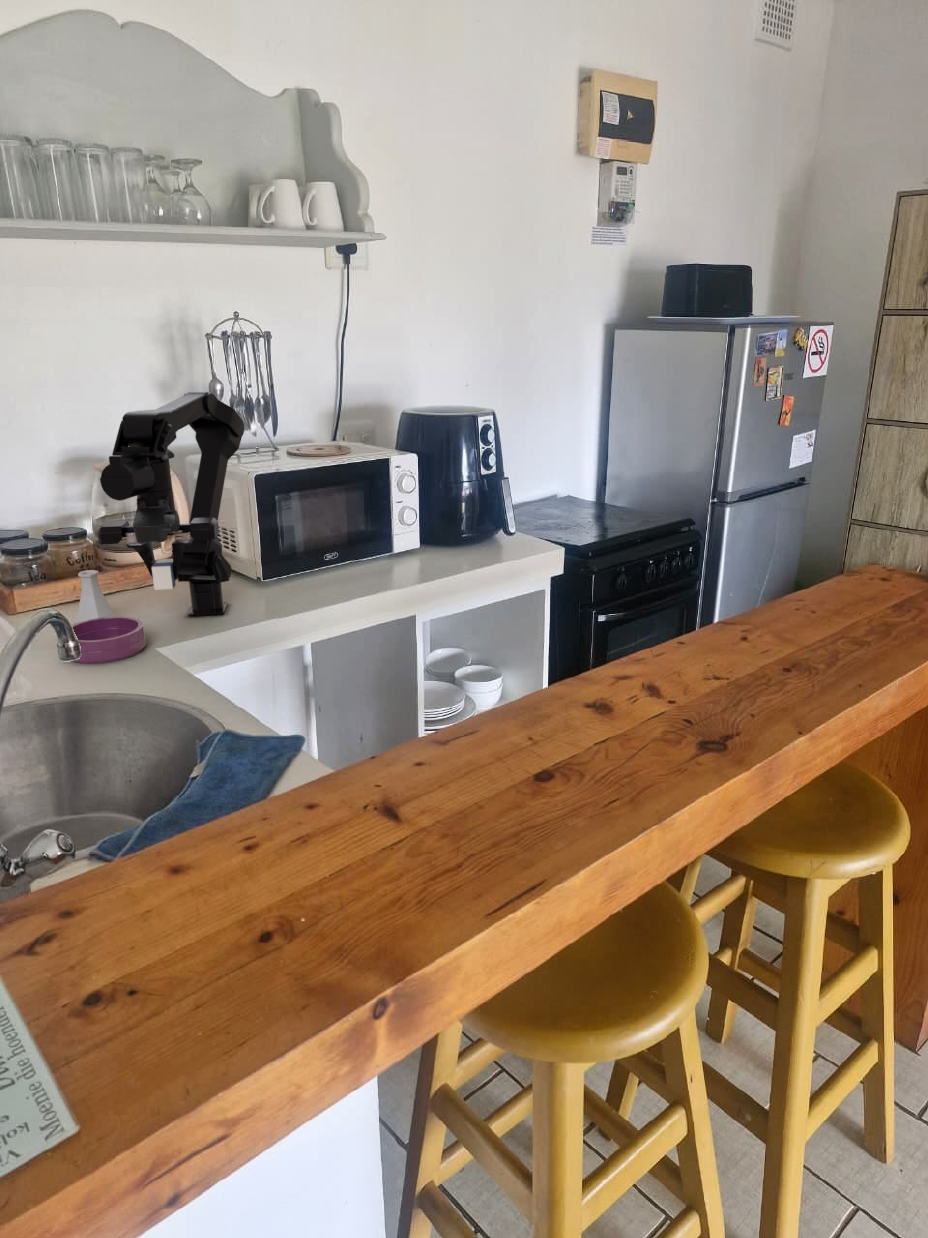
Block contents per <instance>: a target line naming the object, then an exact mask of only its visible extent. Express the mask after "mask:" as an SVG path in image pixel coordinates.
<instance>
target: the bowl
mask: <svg viewBox="0 0 928 1238" xmlns="http://www.w3.org/2000/svg"><path fill="white" fill-rule="evenodd" d="M72 626H73V629H74V632H75V634H76V636H77V638H78V641H79V643H80V646H81V654H82V655H81V657H80V659H78V660H75V661H73V662H74V663H78V664H84V665H86V664H87V665H99V664H107V663H114V662H119V661H122V660H125V659H128V658H131V657H133V656H135V655H137V654H139V653H140V652H141V651H142V650H143V648H144V647H146V645H147V639H146V632H145V631H146V630H145V623H144V622H143V621H142V620H141V619H140V618H136V617H132V616H121V615H116V616H114V617H102V618H96V619H90V620H86V621H82V622H79V623H76V624H75V623H73V624H72Z"/></svg>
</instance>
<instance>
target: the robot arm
mask: <svg viewBox="0 0 928 1238" xmlns="http://www.w3.org/2000/svg"><path fill="white" fill-rule="evenodd" d="M187 426H189V427H190V428H191V429H192V430H193V431H194V433H195V436H194V437H195V441H196V444H197V445H198V447H199V450H200V459H199V466H198V470H197V471H198V472H197V477H196V482H195V488H194V493H193V498H192V505H191V509H190V515H189V522H188V523H181V521H180V517H179V514H178V511H177V509H176V508H175V500H174V498H175V497H174V491H173V482H172V474H171V473H172V472H171V465H170V459H173V458H175V453H174V452H173V451H171V450H170V449H168V447H169V446H170V445H171V444H172V443H173V442H174V441H175V440H176V439H177V438H178V437H177V432H179V430H181V429H183V428H185V427H187ZM244 434H245V423H244V421H243V419H242V417H241V416H240V415H239V413H238V412H237V411H236V410H235V408H233V407H232V406H230V405H229V404H226V403H225V402H222V401H221V400H219V399H218V398H217V396H216V395H215V394H214V393H212V392H210V391H188V392H185V393H184V394H183V395H182V396H180V397H178V398H176V399H174V400H172V401H170V402H167V403H166V404H164V405H161V406H160V407H158V408H156V409H146V410H145V409H144V410H143V409H142V410H133V411H127V412H125V413H124V414H123V416H122V418H121V420H120V424H119V427H118V430H117V433H116V438H115V442H114V446H113V449H112V452H111V453H112V454H111V455H109V456H108V461H109V464H107V465H106V466H105V467H104V468H103V470H102V471H101V475H100V478H99V482H100V486H101V488H102V490H103V492H104V494H106V495H107V497H109V498H110V499H113V500H115V501H125V500H129V499H131V498H134V497H136V511H135V515H134V518H133V522H132V525H130V523H129V521H128V520H110V521H106V522H105V523H103V524H102V525H101V526H100V527H99V528H98V529H97V539H98V544H99V545H118V544H119V543H120V542H121V541H122V540H123V538H126V545H125V546H126V548H127V549H133V550H134V552H136V553H137V554H138V556H140V558H141V560H142V561H143V563H144V565H145V567H146V569H147V571H148V573H149V575H150V576H151V578H152V579H153V575H152V566H153V564H154V563H155V562H156V559H155V553H154V548H153V543H154V542H155V543H164V542H166V541H167V540H168V538H169V536H173V538H174V540H173V541H172V542H171V558H170V559H173V573H174V579H175V580H177V578H178V581H177V583H178V582H179V583H181V582H182V583H183V582H185V583H186V582H187V583H188V587H189V593H190V603H191V607H190V608H189V611H188V612H187V616H188V617H202V616H204V617H205V616H206V617H207V616H219V615H220V616H221V615H224V614H225V613H226V610H227V607H228V602H227V601H224V600H223V589H222V583H225V582H229V581H230V578H231V576H232V566H231V564H230V563H229V561H227V559H226V557H224V555H223V545H222V543H221V541H220V539H219V536H218V535H219V533H220V527H219V516H220V509H221V503H222V497H223V492H224V486H225V480H226V474H227V468H228V462H229V460H230V459H231V458H232V457H233V455H235V453H236V452H237V451H238V450H239V449H240V445H241V441H242V438H243V436H244ZM152 542H153V543H152Z"/></svg>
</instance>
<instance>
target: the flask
mask: <svg viewBox="0 0 928 1238" xmlns="http://www.w3.org/2000/svg"><path fill="white" fill-rule="evenodd" d="M77 575H78V578H79V579H80V583H81V589H80V591H81V593H80V599H79V602H78V603H79V604H78V608H77V613H76V617H75V620H74V624H76V623H79V622H82V621H86V620H90V619H96V618H102V617H114V616H117V615H116V613H115V612H114V610H113V608H112V607H111V605H110V603H109V602H108V599H107V598H106V596H105V595H104V593H103V591H102V588H101V586H100V582H99V579H98V575H99V570H95V569H86V570H82V571H79V572H78V574H77Z"/></svg>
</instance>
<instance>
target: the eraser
mask: <svg viewBox="0 0 928 1238" xmlns="http://www.w3.org/2000/svg"><path fill="white" fill-rule="evenodd" d="M152 575H153V578H152V580H153V581H152V582H153V583H152V584H153V589H154V591H165V590H166V591H167V590H174V589H175V587H176V585H177V583H178V578H177V580H175V579H174V573H173V559H171V558H157V560H155V563H154V564H153V566H152Z"/></svg>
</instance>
